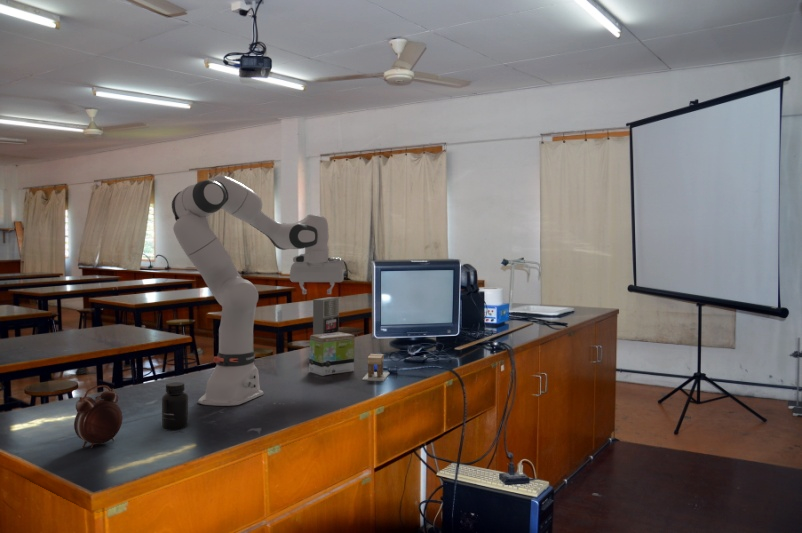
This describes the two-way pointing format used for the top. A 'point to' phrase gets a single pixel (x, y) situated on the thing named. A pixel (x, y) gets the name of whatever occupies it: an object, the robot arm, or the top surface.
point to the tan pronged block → (373, 360)
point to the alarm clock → (98, 417)
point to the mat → (374, 377)
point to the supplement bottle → (174, 407)
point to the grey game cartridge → (325, 315)
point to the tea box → (331, 353)
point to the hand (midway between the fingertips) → (316, 294)
